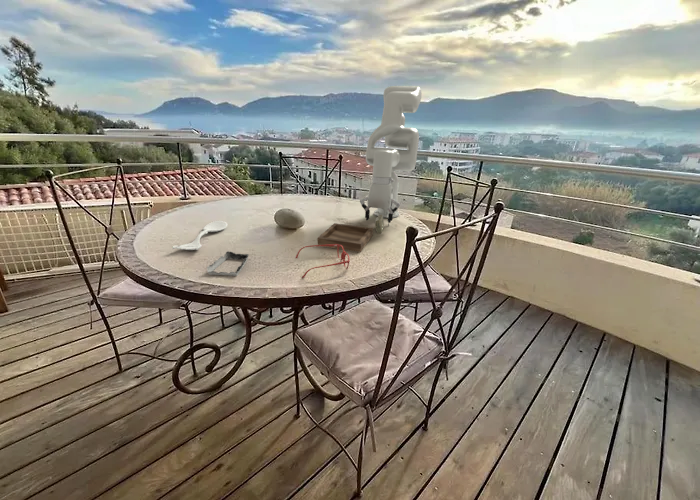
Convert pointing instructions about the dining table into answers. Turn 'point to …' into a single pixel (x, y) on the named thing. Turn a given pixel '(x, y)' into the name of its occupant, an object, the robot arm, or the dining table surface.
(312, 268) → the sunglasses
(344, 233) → the wooden tray
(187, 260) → the dining table surface
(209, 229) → the spoon
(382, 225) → the cuneiform tablet
